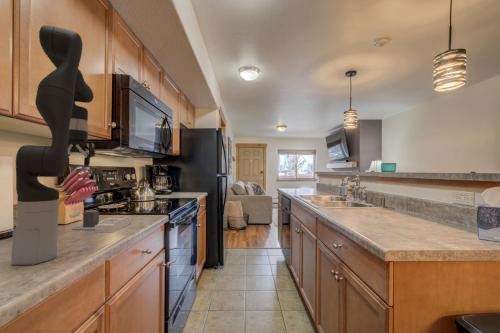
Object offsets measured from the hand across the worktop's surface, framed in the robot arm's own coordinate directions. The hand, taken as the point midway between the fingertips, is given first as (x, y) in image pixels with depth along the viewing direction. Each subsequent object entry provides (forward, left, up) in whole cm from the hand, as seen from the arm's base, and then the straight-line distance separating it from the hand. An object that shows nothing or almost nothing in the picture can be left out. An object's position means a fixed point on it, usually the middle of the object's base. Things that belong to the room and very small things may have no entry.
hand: (76, 166), depth 108 cm
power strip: (+3, -16, -28) cm, 32 cm away
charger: (+3, -6, -28) cm, 28 cm away
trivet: (+3, -6, -28) cm, 29 cm away
